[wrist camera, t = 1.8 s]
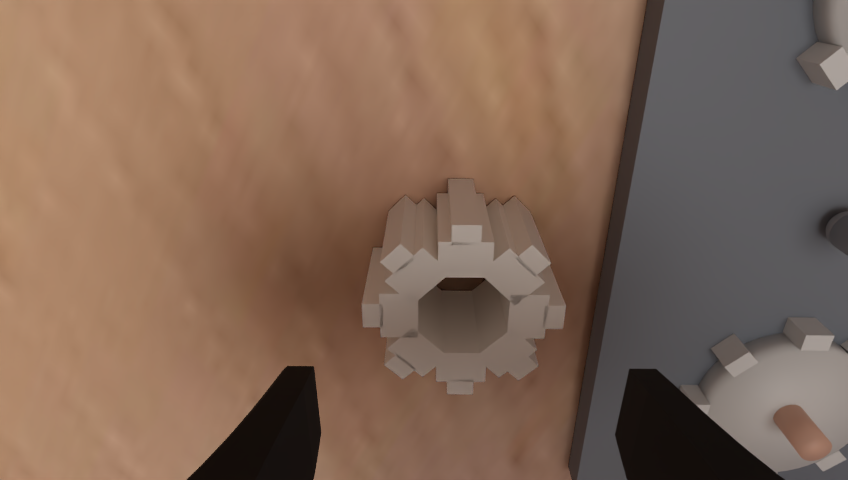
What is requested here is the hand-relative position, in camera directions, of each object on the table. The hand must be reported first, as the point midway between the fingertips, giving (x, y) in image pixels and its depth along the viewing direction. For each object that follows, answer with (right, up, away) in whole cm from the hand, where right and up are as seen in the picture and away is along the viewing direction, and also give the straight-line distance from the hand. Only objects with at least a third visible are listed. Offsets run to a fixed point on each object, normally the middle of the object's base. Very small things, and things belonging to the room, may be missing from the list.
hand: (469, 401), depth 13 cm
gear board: (+12, +5, +5) cm, 14 cm away
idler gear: (0, +3, +6) cm, 7 cm away
